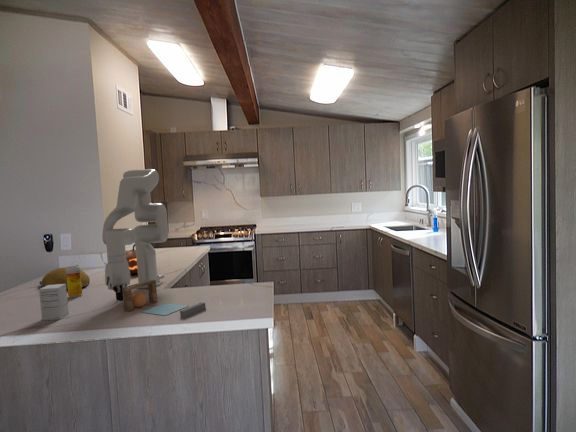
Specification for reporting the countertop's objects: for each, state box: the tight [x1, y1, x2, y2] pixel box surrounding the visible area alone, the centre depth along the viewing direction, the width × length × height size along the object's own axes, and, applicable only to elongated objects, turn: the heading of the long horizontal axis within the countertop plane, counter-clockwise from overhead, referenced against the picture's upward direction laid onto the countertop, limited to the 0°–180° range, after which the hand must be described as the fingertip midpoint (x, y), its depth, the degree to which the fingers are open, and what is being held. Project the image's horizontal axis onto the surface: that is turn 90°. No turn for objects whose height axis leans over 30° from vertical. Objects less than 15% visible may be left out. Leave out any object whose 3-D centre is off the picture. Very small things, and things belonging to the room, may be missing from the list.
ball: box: [132, 292, 147, 308], centre depth 172 cm, size 6×6×6 cm
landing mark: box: [141, 303, 190, 317], centre depth 166 cm, size 13×13×1 cm
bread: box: [41, 266, 91, 290], centre depth 225 cm, size 18×35×10 cm, turn 53°
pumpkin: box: [126, 243, 138, 276], centre depth 250 cm, size 25×25×19 cm
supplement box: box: [38, 284, 69, 321], centre depth 163 cm, size 7×7×13 cm
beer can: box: [65, 264, 83, 299], centre depth 197 cm, size 6×6×15 cm
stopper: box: [179, 302, 207, 319], centre depth 158 cm, size 12×2×2 cm, turn 151°
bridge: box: [122, 280, 158, 313], centre depth 172 cm, size 3×15×10 cm, turn 151°
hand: (120, 300), depth 179 cm, fingers closed
